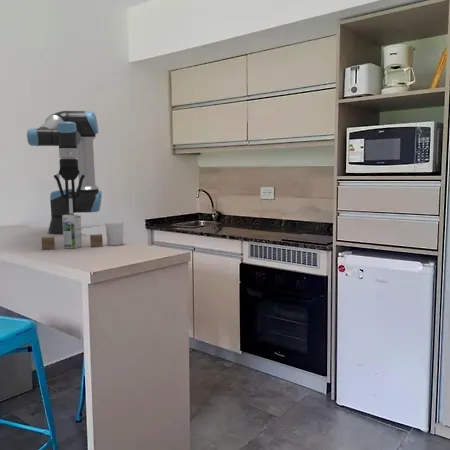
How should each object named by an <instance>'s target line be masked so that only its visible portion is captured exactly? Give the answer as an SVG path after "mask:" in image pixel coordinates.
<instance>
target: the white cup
mask: <svg viewBox="0 0 450 450" xmlns="http://www.w3.org/2000/svg"><path fill="white" fill-rule="evenodd" d="M105 233H106V242H107V246H121V244H122V245H124V221H107V222H105Z"/></svg>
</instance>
